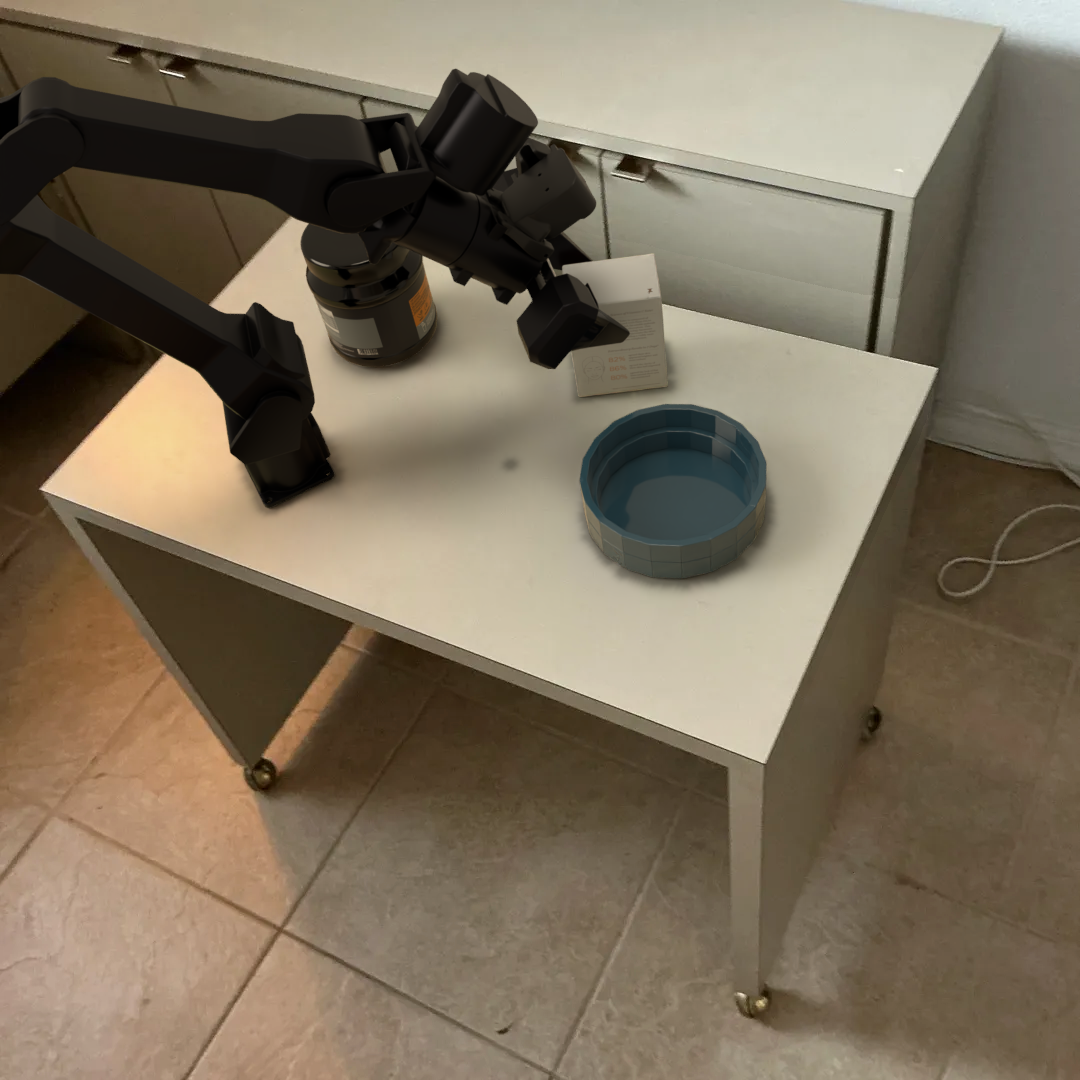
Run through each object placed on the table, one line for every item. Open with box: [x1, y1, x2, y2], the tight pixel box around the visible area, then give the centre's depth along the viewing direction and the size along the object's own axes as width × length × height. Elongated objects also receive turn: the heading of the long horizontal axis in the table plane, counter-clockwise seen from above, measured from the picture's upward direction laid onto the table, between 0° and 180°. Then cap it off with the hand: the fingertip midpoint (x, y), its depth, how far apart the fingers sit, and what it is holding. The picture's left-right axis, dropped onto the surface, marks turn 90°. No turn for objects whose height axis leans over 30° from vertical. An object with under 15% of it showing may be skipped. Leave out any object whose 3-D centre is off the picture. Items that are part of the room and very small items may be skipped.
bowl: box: [579, 403, 768, 579], centre depth 88 cm, size 14×14×4 cm
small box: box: [561, 252, 669, 398], centre depth 96 cm, size 8×6×10 cm
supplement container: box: [299, 223, 439, 368], centre depth 102 cm, size 10×10×12 cm
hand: (608, 301), depth 93 cm, fingers open, 9 cm apart
